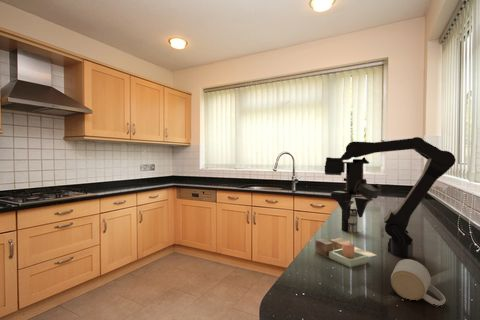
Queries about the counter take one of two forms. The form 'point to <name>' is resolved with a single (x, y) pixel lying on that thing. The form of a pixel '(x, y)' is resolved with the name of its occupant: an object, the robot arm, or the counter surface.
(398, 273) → the ceramic mug
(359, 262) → the tray
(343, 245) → the reddish orange cube
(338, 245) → the light brown wooden block
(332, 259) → the board
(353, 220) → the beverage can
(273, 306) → the counter surface
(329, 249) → the brown block
